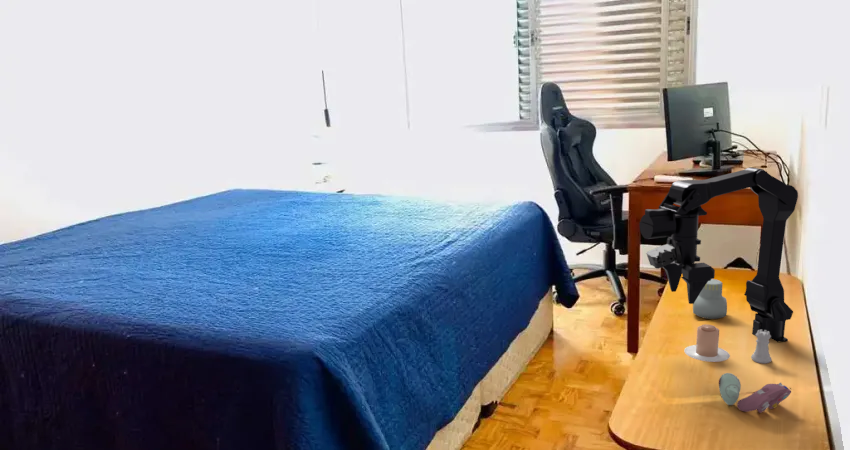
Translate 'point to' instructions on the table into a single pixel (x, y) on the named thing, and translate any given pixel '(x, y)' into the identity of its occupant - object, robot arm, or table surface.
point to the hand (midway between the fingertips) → (682, 297)
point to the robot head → (729, 388)
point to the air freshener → (711, 301)
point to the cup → (707, 340)
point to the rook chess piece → (762, 347)
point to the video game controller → (764, 398)
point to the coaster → (720, 357)
